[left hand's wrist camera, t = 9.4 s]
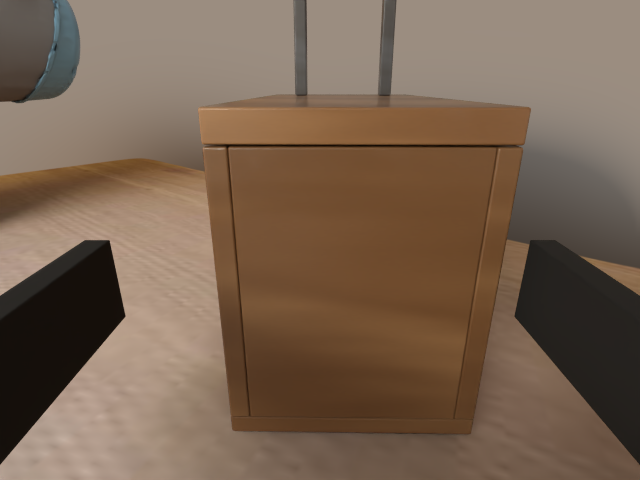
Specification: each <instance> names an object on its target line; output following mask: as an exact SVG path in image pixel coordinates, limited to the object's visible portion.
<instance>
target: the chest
mask: <svg viewBox="0 0 640 480" xmlns="http://www.w3.org/2000/svg"><path fill="white" fill-rule="evenodd" d="M522 154H523V148H521V147H519V146H515V145H207V146H204V147H203V159H204V168H205V177H206V187H207V196H208V205H209V215H210V224H211V234H212V243H213V252H214V262H215V271H216V280H217V290H218V299H219V308H220V318H221V327H222V336H223V346H224V355H225V364H226V374H227V383H228V392H229V402H230V411H231V421H232V429H233V430H234V431H295V432H369V433H443V434H470V433H471V428H472V423H473V417H474V412H475V407H476V401H477V396H478V390H479V385H480V380H481V374H482V369H483V364H484V358H485V353H486V348H487V342H488V337H489V331H490V326H491V321H492V315H493V310H494V305H495V299H496V294H497V288H498V283H499V278H500V272H501V267H502V262H503V256H504V251H505V245H506V240H507V235H508V229H509V224H510V218H511V213H512V208H513V202H514V197H515V192H516V186H517V181H518V176H519V170H520V165H521V159H522Z"/></svg>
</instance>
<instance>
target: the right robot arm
mask: <svg viewBox="0 0 640 480" xmlns="http://www.w3.org/2000/svg"><path fill="white" fill-rule="evenodd" d="M79 59H80V36H79V30H78V25H77V21H76V18H75V15H74V12H73V10H72V8H71V6H70V4H69V3H68V1H67V0H0V102H5V101H11V102H15V103H24V102H26V101H29V100H41V99H50V98H54V97H57V96H59V95H61V94H62V93H64V92H65V91H66V90H67V89H68V88H69V86H70V85H71V83H72V82H73V80H74V77H75V75H76V70H77V66H78V64H79Z"/></svg>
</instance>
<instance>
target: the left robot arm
mask: <svg viewBox="0 0 640 480" xmlns="http://www.w3.org/2000/svg"><path fill="white" fill-rule="evenodd" d="M124 318H125V312H124V307H123V302H122V298H121V293H120V288H119V283H118V279H117V274H116V269H115V264H114V260H113V255H112V250H111V245H110V241H109V240H85V241H83V242H82V243H80V244H79V245H77V246H75V247H74V248H72V249H71V250H69V251H68V252H66V253H65V254H63V255H62V256H60V257H59V258H57V259H56V260H54V261H53V262H51V263H50V264H48V265H47V266H45V267H43V268H42V269H40V270H39V271H37V272H36V273H34V274H33V275H31V276H30V277H28V278H27V279H25V280H24V281H22V282H21V283H19V284H18V285H16V286H14V287H13V288H11V289H10V290H8V291H7V292H5V293H4V294H2V295H1V296H0V464H1V463H2V462H3V461H4V460H5V458H6V457H7V456H8V455H9V454H10V452H11V451H12V450H13V449H14V448H15V447H16V445H17V444H18V443H19V442H20V441H21V439H22V438H23V437H24V436H25V435H26V434H27V432H28V431H29V430H30V429H31V428H32V426H33V425H34V424H35V423H36V422H37V420H38V419H39V418H40V417H41V416H42V415H43V413H44V412H45V411H46V410H47V409H48V407H49V406H50V405H51V404H52V403H53V402H54V400H55V399H56V398H57V397H58V396H59V394H60V393H61V392H62V391H63V390H64V389H65V387H66V386H67V385H68V384H69V383H70V381H71V380H72V379H73V378H74V377H75V376H76V374H77V373H78V372H79V371H80V370H81V368H82V367H83V366H84V365H85V364H86V363H87V361H88V360H89V359H90V358H91V357H92V355H93V354H94V353H95V352H96V351H97V349H98V348H99V347H100V346H101V345H102V344H103V342H104V341H105V340H106V339H107V338H108V336H109V335H110V334H111V333H112V332H113V331H114V329H115V328H116V327H117V326H118V325H119V323H120V322H121V321H122V320H123V319H124ZM515 318H516V319H517V320H518V321H519V322H520V323H521V325H522V326H523V327H524V328H525V329H526V331H527V332H528V333H529V334H530V335H531V336H532V338H533V339H534V340H535V341H536V342H537V344H538V345H539V346H540V347H541V348H542V349H543V351H544V352H545V353H546V354H547V355H548V357H549V358H550V359H551V360H552V361H553V363H554V364H555V365H556V366H557V367H558V368H559V370H560V371H561V372H562V373H563V374H564V376H565V377H566V378H567V379H568V380H569V381H570V383H571V384H572V385H573V386H574V387H575V389H576V390H577V391H578V392H579V393H580V394H581V396H582V397H583V398H584V399H585V400H586V402H587V403H588V404H589V405H590V406H591V407H592V409H593V410H594V411H595V412H596V413H597V415H598V416H599V417H600V418H601V419H602V420H603V422H604V423H605V424H606V425H607V426H608V428H609V429H610V430H611V431H612V432H613V434H614V435H615V436H616V437H617V438H618V439H619V441H620V442H621V443H622V444H623V445H624V447H625V448H626V449H627V450H628V451H629V452H630V454H631V455H632V456H633V457H634V458H635V460H636V461H637V462H638V463H639V464H640V296H639V295H638V294H636V293H635V292H633V291H632V290H630V289H629V288H627V287H626V286H624V285H622V284H621V283H619V282H618V281H616V280H615V279H613V278H612V277H610V276H609V275H607V274H606V273H604V272H603V271H601V270H600V269H598V268H597V267H595V266H593V265H592V264H590V263H589V262H587V261H586V260H584V259H583V258H581V257H580V256H578V255H577V254H575V253H574V252H572V251H571V250H569V249H567V248H566V247H564V246H563V245H561V244H560V243H558V242H557V241H555V240H531V241H530V245H529V250H528V255H527V260H526V264H525V269H524V274H523V279H522V283H521V288H520V293H519V298H518V302H517V307H516V312H515Z"/></svg>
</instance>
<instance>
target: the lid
mask: <svg viewBox="0 0 640 480" xmlns="http://www.w3.org/2000/svg"><path fill="white" fill-rule="evenodd" d="M395 13H396V0H383V4H382V24H381V44H380V64H379V83H378V95H307V11H306V0H294V42H295V90H296V95H272V96H265V97H259V98H253V99H247V100H240V101H234V102H228V103H221V104H215V105H209V106H203V107H199V108H198V113H199V122H200V132H201V141H202V144H204V145H524V143H525V139H526V133H527V128H528V123H529V117H530V112H531V109H530V108H529V107H521V106H512V105H502V104H492V103H482V102H472V101H463V100H452V99H443V98H433V97H423V96H413V95H390V94H391V78H392V61H393V45H394V29H395Z"/></svg>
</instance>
